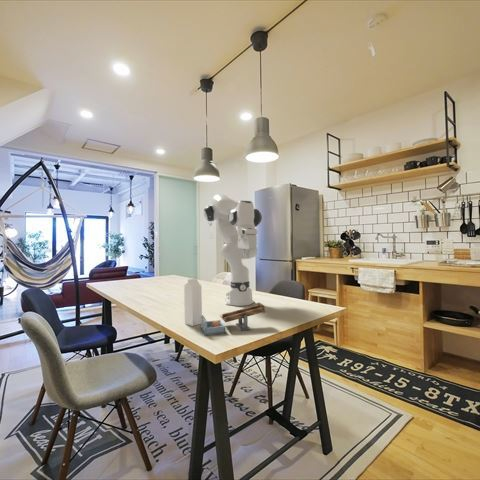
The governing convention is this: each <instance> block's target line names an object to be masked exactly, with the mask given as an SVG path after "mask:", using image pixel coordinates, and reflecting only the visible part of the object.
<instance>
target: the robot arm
mask: <svg viewBox="0 0 480 480" xmlns="http://www.w3.org/2000/svg"><path fill="white" fill-rule="evenodd" d="M211 201H212V202H211V203H212V204H208V205H207V206H206V207H204V208H203V216H204V218H205V220H207V222H214V221H216V227H217V231H218V233H219V235H220V236H221V238H222V240H223V242H224V243H225V244H222V246H221V249H220V254H221V257H222V259H224V260H225V261H226V262H227V264H228V265H229V267H230V276H231V281H230V288H229V290H228V292H226V293H225V296H226V298H224V301H225V305H227V306H233V307H234V306H237V307H238V306H240V307H241V306H243V307H244V306H249V305H250V306H251V305H252V304H253V303H254V304H255V300H254V299H253V291H252V289H251V288H250V285H251V283H250V281H249V280H250V279H249V278H250V277H249V274H250V272H249V268H248V267H247V266H246V265H244V264H243V261H242V260H250V259H253V258H255V257H256V256H257V255H258V247H257V243H258V242H257V241H258V240H257V239H258V236H257V235H258V230H257V226H258V225H260V223H261V222H262V219H263V215H262V213H261V212H260V210H259V209H258V208H254V203H253V201H251V200H239V201H235V200H233V199H232V198H230V197H229V196H227V195H225V194H221V193H217V194H215V195H213V197H212V199H211ZM236 227H237V228H236Z"/></svg>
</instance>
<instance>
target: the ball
mask: <svg viewBox="0 0 480 480" xmlns="http://www.w3.org/2000/svg"><path fill="white" fill-rule="evenodd" d="M213 321H214V322H213V323H212V327H219V326H220V324H219V322H218V321H216V320H213Z"/></svg>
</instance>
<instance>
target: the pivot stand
mask: <svg viewBox="0 0 480 480" xmlns="http://www.w3.org/2000/svg"><path fill="white" fill-rule="evenodd" d="M248 318H249V316H248V317H247V315H243V318H240V319H237V321H238V322H236V323H235V325H236V327H237V328H238V329H239V330H240V331H241V332H248V331H251V330H252V329H251V328H250V327H249V324H248V321H249V320H248Z"/></svg>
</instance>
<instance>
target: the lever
mask: <svg viewBox="0 0 480 480" xmlns="http://www.w3.org/2000/svg"><path fill="white" fill-rule="evenodd" d="M265 309H266V308H265V305H264V304H263V303H261V302H257V305H252V306H249V307H243V308H241V309H237V310H233V311H228V312H223V313H221V314H220V313H219V317H220V318H221V319H222V320H223V322H224V323H230V322H233V321H238V319H240V318H242V319H243V315H247V317H248V318H249V317H252V316H254V315H258V314H262V313H263V314H264V313H266V310H265Z"/></svg>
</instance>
